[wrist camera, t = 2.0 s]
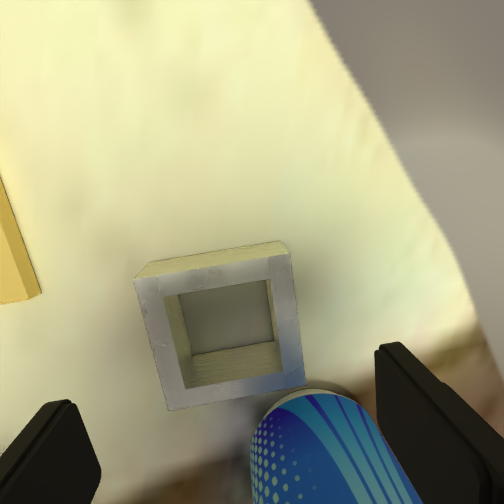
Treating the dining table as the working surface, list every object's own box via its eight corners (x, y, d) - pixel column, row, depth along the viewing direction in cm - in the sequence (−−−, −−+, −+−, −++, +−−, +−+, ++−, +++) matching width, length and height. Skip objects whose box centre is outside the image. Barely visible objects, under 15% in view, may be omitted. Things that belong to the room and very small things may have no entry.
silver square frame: (293, 352, 18) (306, 385, 15) (178, 373, 18) (168, 411, 15) (279, 240, 16) (290, 253, 13) (150, 262, 16) (133, 279, 13)
